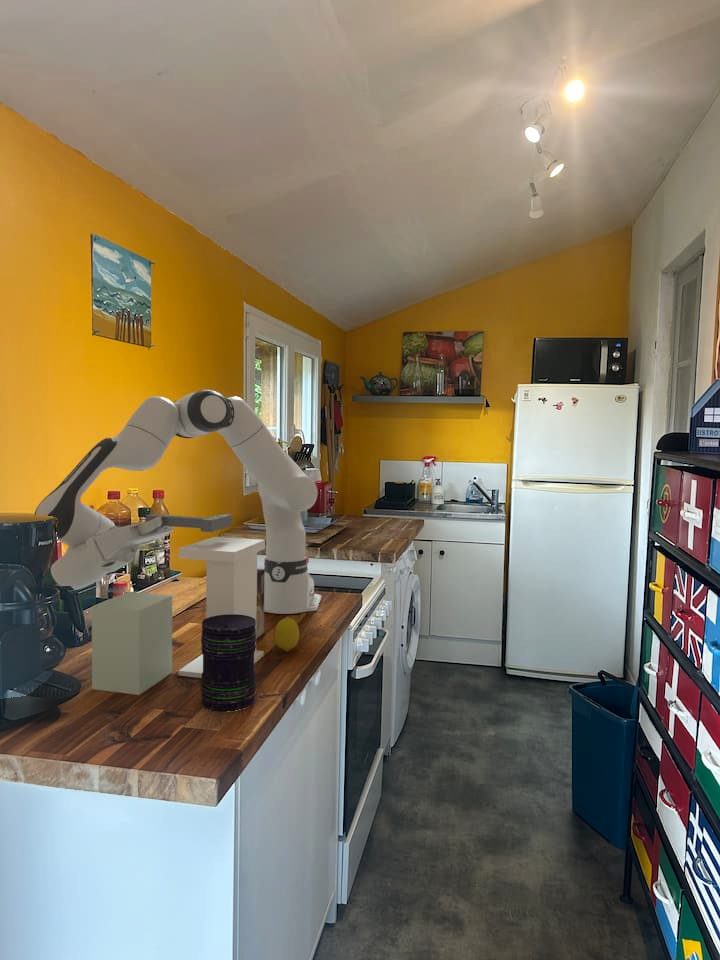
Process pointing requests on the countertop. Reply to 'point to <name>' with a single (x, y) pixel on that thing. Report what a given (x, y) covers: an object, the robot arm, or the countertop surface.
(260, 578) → the coffee box
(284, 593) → the robot arm
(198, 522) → the t key
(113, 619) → the block
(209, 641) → the storage jar
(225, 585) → the shelf
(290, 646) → the lemon
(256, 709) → the countertop surface
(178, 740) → the countertop surface
